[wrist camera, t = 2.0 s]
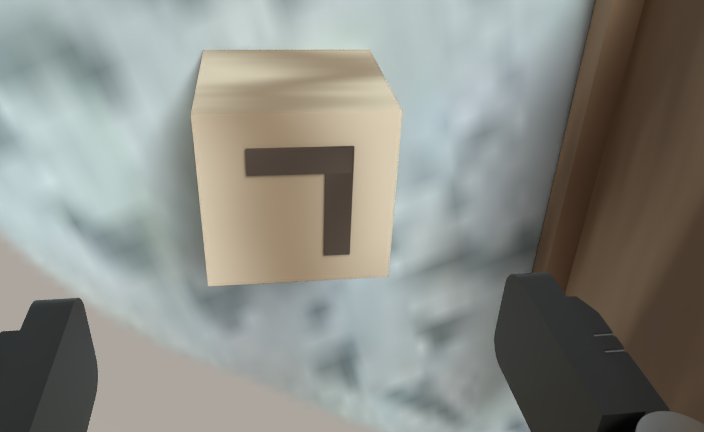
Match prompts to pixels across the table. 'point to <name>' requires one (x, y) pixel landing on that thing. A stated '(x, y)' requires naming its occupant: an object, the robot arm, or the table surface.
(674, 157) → the walnut screen
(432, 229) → the table surface
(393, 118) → the letter cube
